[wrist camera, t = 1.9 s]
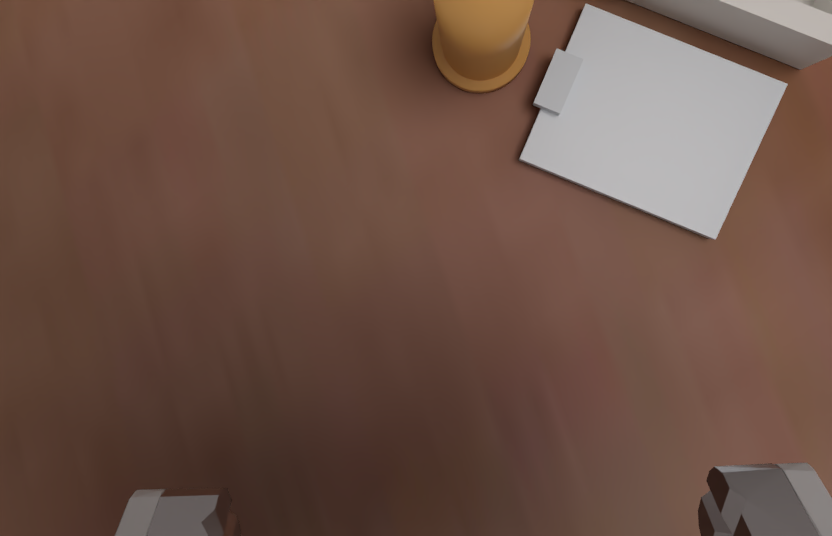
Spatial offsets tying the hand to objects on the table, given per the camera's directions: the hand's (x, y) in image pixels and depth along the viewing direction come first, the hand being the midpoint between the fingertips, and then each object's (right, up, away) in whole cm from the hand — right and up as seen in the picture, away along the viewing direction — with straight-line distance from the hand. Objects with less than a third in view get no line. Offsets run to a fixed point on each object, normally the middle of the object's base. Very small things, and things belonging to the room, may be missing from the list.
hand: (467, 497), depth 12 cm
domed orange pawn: (+2, +14, +18) cm, 23 cm away
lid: (+9, +10, +18) cm, 23 cm away
